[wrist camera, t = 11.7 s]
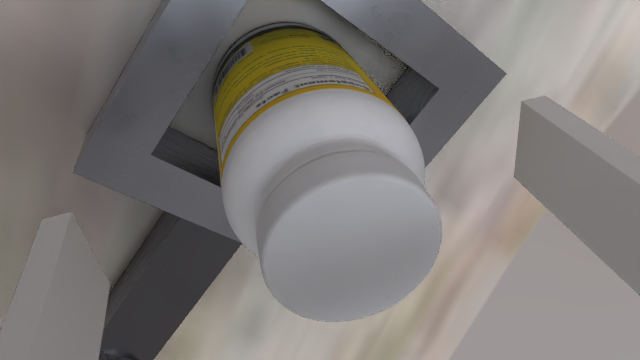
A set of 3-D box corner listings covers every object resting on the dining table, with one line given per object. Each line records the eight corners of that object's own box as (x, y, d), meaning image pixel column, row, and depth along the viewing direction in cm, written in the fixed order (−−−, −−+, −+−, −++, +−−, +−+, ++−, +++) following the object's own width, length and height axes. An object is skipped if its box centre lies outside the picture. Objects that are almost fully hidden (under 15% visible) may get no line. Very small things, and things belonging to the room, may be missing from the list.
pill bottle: (346, 152, 24) (444, 330, 15) (214, 157, 22) (231, 358, 13) (362, 19, 21) (500, 142, 11) (208, 15, 19) (226, 153, 10)
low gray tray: (241, -141, 17) (251, -142, 14) (467, 47, 23) (506, 73, 20) (0, 286, 24) (-25, 342, 21) (219, 350, 30) (222, 400, 27)
